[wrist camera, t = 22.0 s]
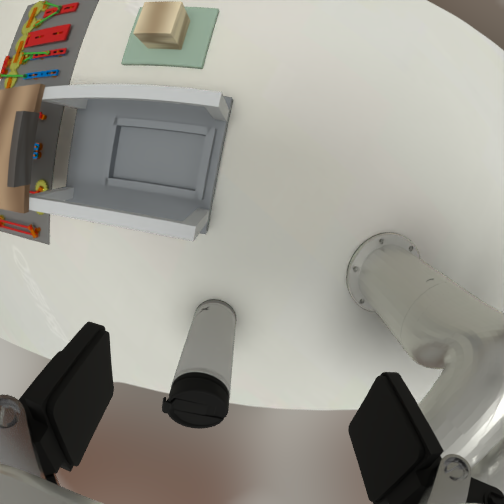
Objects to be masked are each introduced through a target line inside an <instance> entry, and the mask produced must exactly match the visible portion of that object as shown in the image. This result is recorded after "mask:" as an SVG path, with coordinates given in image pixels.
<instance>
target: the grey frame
mask: <svg viewBox="0 0 504 504" xmlns="http://www.w3.org/2000/svg"><path fill="white" fill-rule="evenodd" d="M42 101H44V102H49V103H54V104H58V105H63V106H67V107H72V108H76V109H78V110H77V114H76V119H75V125H74V130H73V136H72V142H71V149H70V156H69V164H68V173H67V183H66V187H62V188H58V189H53V190H48V191H44V192H40V193H35V194H31V195H29V210H33V211H38V212H43V213H48V214H53V215H59V216H64V217H69V218H74V219H79V220H85V221H90V222H95V223H100V224H105V225H111V226H116V227H121V228H126V229H131V230H137V231H142V232H147V233H152V234H158V235H163V236H168V237H173V238H178V239H184V240H189V241H194V240H195V238H196V237H197V236H198V234H199V233H201V234H206V232H207V230H208V225H209V219H210V213H211V207H212V202H213V196H214V191H215V185H216V180H217V175H218V170H219V164H220V159H221V154H222V149H223V144H224V140H225V135H226V130H227V125H228V121H229V116H230V111H231V107H232V102H233V99H232V97H226V96H223V94H222V92H218V91H210V90H202V89H194V88H184V87H173V86H160V85H142V84H81V85H63V86H51V87H45V89H44V93H43V98H42ZM64 200H65V201H64Z"/></svg>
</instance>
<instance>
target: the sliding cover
mask: <svg viewBox="0 0 504 504" xmlns="http://www.w3.org/2000/svg"><path fill="white" fill-rule="evenodd" d="M44 89H45V85H44V84H33V85H26V86H19V87H13V88H7V89H2V90H0V209H4V210H9V211H13V212H18V213H23V214H24V213H27V212H29V192H30V184H31V172H32V162H33V153H34V145H35V138H36V132H37V126H38V120H39V115H40V113H39V112H40V107H41V102H42V98H43V93H44Z"/></svg>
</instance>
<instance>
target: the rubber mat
mask: <svg viewBox="0 0 504 504" xmlns="http://www.w3.org/2000/svg"><path fill="white" fill-rule="evenodd" d="M142 8H143V7H140V9H139V12H138V15H137V17H136V20H135V23H134V26H133V28H132V31H131V34H130V37H129V40H128V43H127V46H126V50H125V53H124V56H123V59H122V63H121V64H123V65H154V66H174V67H187V68H198V69H203V65H204V62H205V58H206V54H207V50H208V47H209V43H210V40H211V36H212V33H213V29H214V26H215V23H216V19H217V16H218V13H219V9H215V8H201V7H184V8H185V10H186V12H187V14H188V16H189V19H190V24H189V27H188V30H187V33H186V36H185V40H184V43H183V46H182V50H175V49H148V48H147V47H146V46H145V45H144V44H143V43H142V42H141V41H140V40H139V39H138V38H137V37H136V36H135V35H134V34H133V32H134V29H135V27H136V24H137V21H138V18H139V16H140V13H141V11H142Z"/></svg>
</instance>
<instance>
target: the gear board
mask: <svg viewBox="0 0 504 504" xmlns="http://www.w3.org/2000/svg"><path fill="white" fill-rule="evenodd" d="M98 1H99V0H45V1H39V2H37V3H35V4H32V5H29V6H28V7H27V9H26V11H25V13H24V15H23V18H22V20H21V22H20V25H19V27H18V30H17V32H16V35H15V38H14V40H13V43H12V46H11V49H10V52H9V55H8V56H6V58H5V61H4V64H3V67H2V70H1V73H0V79H1V81H0V90H2V89H7V88H13V87H19V86H26V85H33V84H44V85H45V87H51V86H63V85H69V84H70V80H71V76H72V73H73V69H74V66H75V63H76V60H77V56H78V53H79V50H80V47H81V44H82V42H83V39H84V36H85V33H86V31H87V28H88V25H89V23H90V20H91V18H92V15H93V13H94V11H95V8H96V6H97V4H98ZM63 109H64V106H63V105H58V104H54V103H49V102H44V101H42V102H41V107H40V112H39V113H40V115H39V120H38V126H37V132H36V138H35V145H34V153H33V162H32V172H31V184H30V192H29V195H31V194H35V193H40V192H44V191H48V190H52V179H53V169H54V161H55V154H56V147H57V140H58V134H59V129H60V123H61V118H62V113H63ZM0 231H2V232H6V233H9V234H12V235H16V236H20V237H23V238H27V239H30V240H34V241H38V242H41V243H45V244H49V233H50V214H48V213H43V212H38V211H33V210H29V212H27V213H24V214H23V213H18V212H13V211H9V210H4V209H0Z"/></svg>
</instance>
